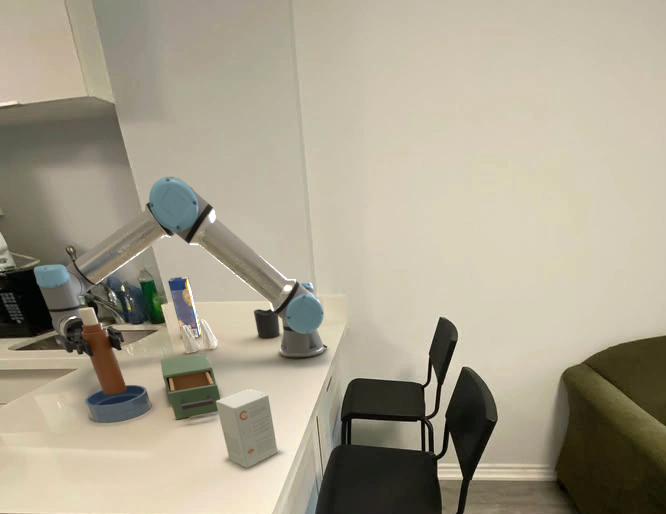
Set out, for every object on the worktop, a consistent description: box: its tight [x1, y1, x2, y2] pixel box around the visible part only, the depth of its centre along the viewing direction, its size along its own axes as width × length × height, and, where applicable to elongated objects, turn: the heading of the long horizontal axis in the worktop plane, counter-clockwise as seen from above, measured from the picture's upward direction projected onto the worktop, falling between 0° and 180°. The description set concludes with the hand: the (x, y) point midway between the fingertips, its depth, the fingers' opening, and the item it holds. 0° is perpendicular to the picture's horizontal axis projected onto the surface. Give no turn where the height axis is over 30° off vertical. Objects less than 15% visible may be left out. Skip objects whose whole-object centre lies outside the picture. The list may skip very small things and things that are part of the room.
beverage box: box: [167, 276, 201, 340], centre depth 176 cm, size 7×11×22 cm, turn 15°
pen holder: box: [253, 308, 281, 339], centre depth 173 cm, size 9×9×10 cm
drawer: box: [167, 371, 221, 420], centre depth 108 cm, size 18×11×7 cm, turn 24°
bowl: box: [84, 384, 152, 424], centre depth 110 cm, size 14×14×5 cm
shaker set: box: [180, 318, 219, 354], centre depth 157 cm, size 12×4×11 cm, turn 111°
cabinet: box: [160, 352, 217, 404], centre depth 120 cm, size 15×12×8 cm
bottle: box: [79, 306, 127, 395], centre depth 103 cm, size 5×5×20 cm
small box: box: [216, 388, 278, 469], centre depth 85 cm, size 8×6×13 cm
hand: (104, 347), depth 98 cm, fingers closed on bottle, 5 cm apart
